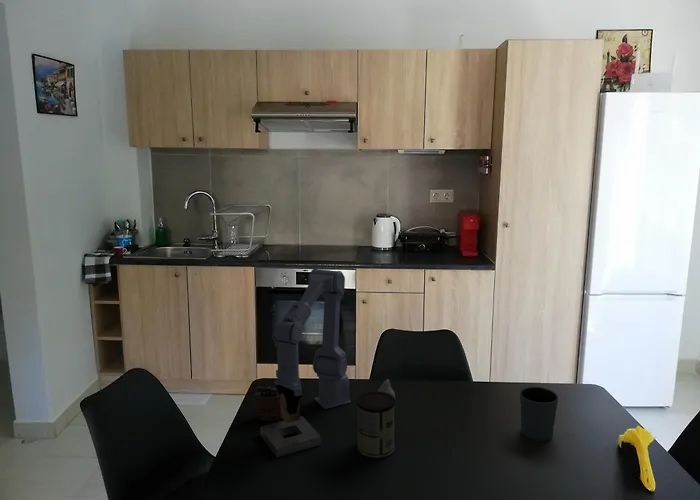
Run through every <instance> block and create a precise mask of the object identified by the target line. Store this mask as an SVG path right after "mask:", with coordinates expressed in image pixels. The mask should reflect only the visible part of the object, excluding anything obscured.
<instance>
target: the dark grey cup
mask: <svg viewBox="0 0 700 500" xmlns="http://www.w3.org/2000/svg"><path fill="white" fill-rule="evenodd" d="M519 401H520V403H519V404H520V430H521V433H522V434H523V436H524V437H526V438H528V439H529V440H533V441H536V442H537V441H538V442H545V441H546V442H547V441H549V440H551V439H552V438H553V434H554V427H555V420H556V415H557V408H558V401H559V396H558V394H557V393H556V392H554V391H553V390H551V389H549V388H546V387H541V386H540V387H539V386H528V387H524V388H522V389H521V390H520V391H519Z"/></svg>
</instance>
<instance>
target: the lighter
mask: <svg viewBox="0 0 700 500" xmlns="http://www.w3.org/2000/svg"><path fill="white" fill-rule="evenodd" d="M254 400H255V402H254V403H255V417H254V418H255V419H256V420H258V421H267V422H268V421H272V422H273V421H280V420H282V418H281V401H280V396H279V393H278V390H277V388H276V387H272V386H271V385H268V386H266V387H265V386H257V387H256V393H255V394H254Z"/></svg>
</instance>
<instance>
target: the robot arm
mask: <svg viewBox="0 0 700 500" xmlns="http://www.w3.org/2000/svg"><path fill="white" fill-rule="evenodd" d="M307 277H308V278H307V279H308V280H307V287H306V289H305V291H304V293H303V295H302V297H301V298H300V300H298V301H295V302H294V303H292V305H291V307H290V309H289V310H288V311H287V313H285V316H284V317H283V318H282V320H278V321H277V322H276V323H275V324H274V325H273V327H272V332H271V338H272V339H273V342H274V347H275V348H276V356H277V359H276V360H277V363H276V364H277V369H276V370H275V377H276V379H275V380H273V384H274V386H275V388H277V393H279V396H280V394H281V393H283V395H284V397H285V400H286V403H287V410H288V413H289V415H291V414H295V413H296V412H297V408H298V404H299V405H300V401H301V398H302V396H303V394H304V393H305V392H304V391H305V390H304V388H302V386H301V385H302V384H301V379H300V375H299V374H300V369H299V342H300V341H301V339H302V336H303V331H304V326H305V324H306V323H307V321H308V320H309V317H311V315H312V309H311V308H312V306H313V305H314V303H316V301H317V300H318V299H319V297H320V296H322V297H323V299H324V301H323V325H322V326H323V327H322V346H321V347H319V348H318V349H316V351H315V352H314V359H313V360H312V369H313V372H314V374H316V377H318V391H319V392H318V395H319V396H318V397H315V398H314V400H315V402H317V404H319V405H320V406H321V407H322V408H323V409H324V410H327V409H331V408H335V407H339V406H343V405H346V404H350V403H351V402H352V400H350V398H351V397H350V396H351V395H350V394H351V391H350V378H349V376H348V374H347V369H348V361H347V354H346V352H345V351H344V350H343V349H342V348H341V347H340V346H339V334H340V333H339V331H340V313H341V311H340V309H341V297H343V296H344V295H345V286H346V277H345V275H344V273H343V272H342V271H340V270H337V271H336V270H329V269H328V270H327V269H318V268H313V269H312V270H310V272H309V274H308V276H307Z"/></svg>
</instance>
